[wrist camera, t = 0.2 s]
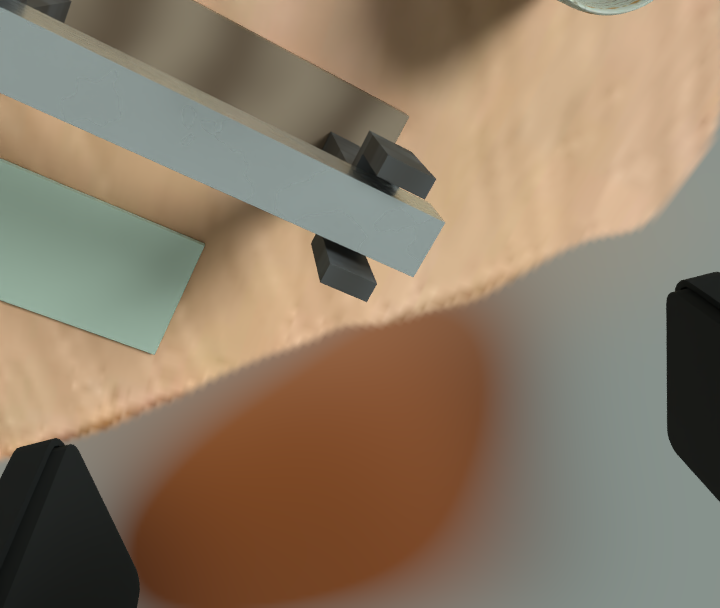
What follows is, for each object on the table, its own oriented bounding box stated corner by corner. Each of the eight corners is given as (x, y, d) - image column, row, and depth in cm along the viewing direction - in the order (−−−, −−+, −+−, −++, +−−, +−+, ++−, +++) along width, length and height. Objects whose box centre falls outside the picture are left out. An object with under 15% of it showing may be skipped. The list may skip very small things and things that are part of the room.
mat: (-159, 240, 43) (-163, 242, 42) (-124, 106, 40) (-128, 107, 39) (155, 351, 49) (154, 354, 49) (204, 243, 46) (204, 245, 46)
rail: (-111, 21, 28) (-149, 26, 25) (-92, -53, 27) (-129, -56, 24) (400, 254, 35) (413, 277, 33) (429, 203, 34) (445, 222, 32)
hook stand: (-24, 49, 39) (-179, 94, 25) (19, -93, 37) (-126, -133, 22) (348, 221, 47) (391, 330, 33) (405, 113, 44) (480, 180, 30)
